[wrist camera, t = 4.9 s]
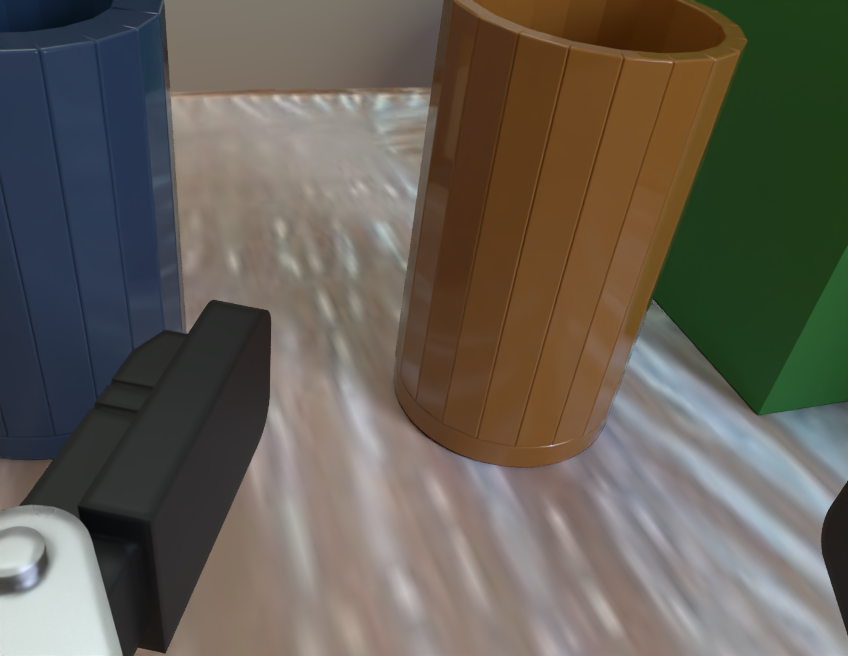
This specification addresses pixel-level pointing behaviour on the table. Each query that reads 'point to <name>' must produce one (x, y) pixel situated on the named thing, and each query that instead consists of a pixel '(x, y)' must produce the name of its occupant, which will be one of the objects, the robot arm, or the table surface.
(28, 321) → the mug
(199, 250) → the table surface
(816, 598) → the table surface
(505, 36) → the tumbler
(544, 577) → the table surface
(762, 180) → the hardback book
